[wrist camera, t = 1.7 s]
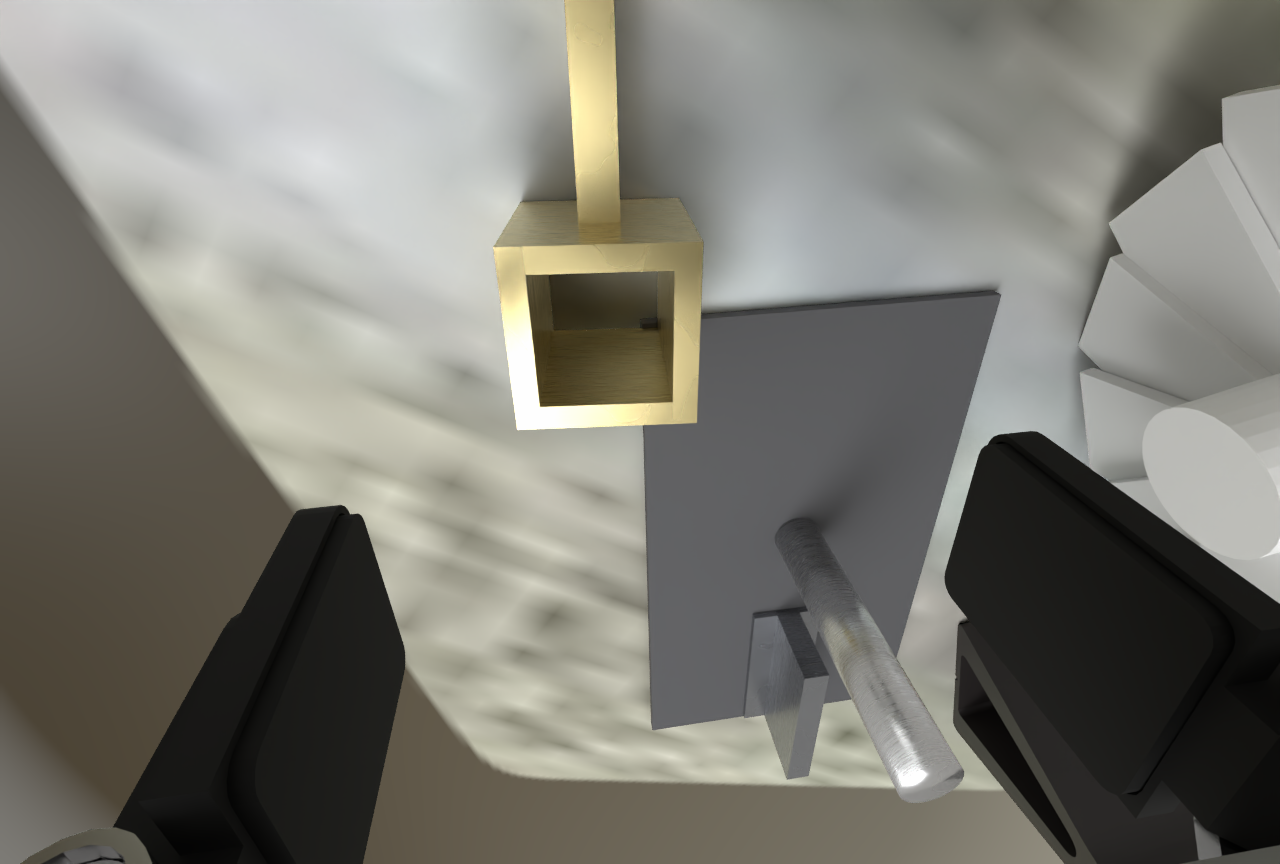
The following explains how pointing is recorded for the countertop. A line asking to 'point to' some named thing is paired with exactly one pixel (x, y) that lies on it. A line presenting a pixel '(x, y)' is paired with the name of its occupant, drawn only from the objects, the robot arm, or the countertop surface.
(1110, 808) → the phone stand
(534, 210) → the loose leaf
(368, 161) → the countertop surface
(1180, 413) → the spiral staircase
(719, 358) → the mat
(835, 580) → the fixed leaf
